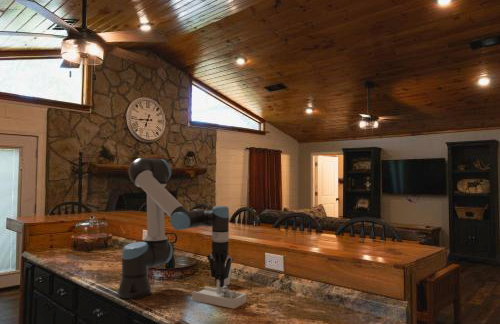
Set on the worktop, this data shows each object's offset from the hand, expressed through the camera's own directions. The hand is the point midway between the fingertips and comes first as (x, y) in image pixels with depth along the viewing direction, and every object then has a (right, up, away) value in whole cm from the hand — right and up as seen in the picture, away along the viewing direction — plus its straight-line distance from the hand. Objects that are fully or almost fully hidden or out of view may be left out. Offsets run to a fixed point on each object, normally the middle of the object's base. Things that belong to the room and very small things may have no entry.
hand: (219, 293), depth 168 cm
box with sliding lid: (0, -3, 0) cm, 3 cm away
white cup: (0, -4, +26) cm, 27 cm away
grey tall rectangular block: (-1, -4, +13) cm, 14 cm away
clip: (+4, -3, -3) cm, 6 cm away
